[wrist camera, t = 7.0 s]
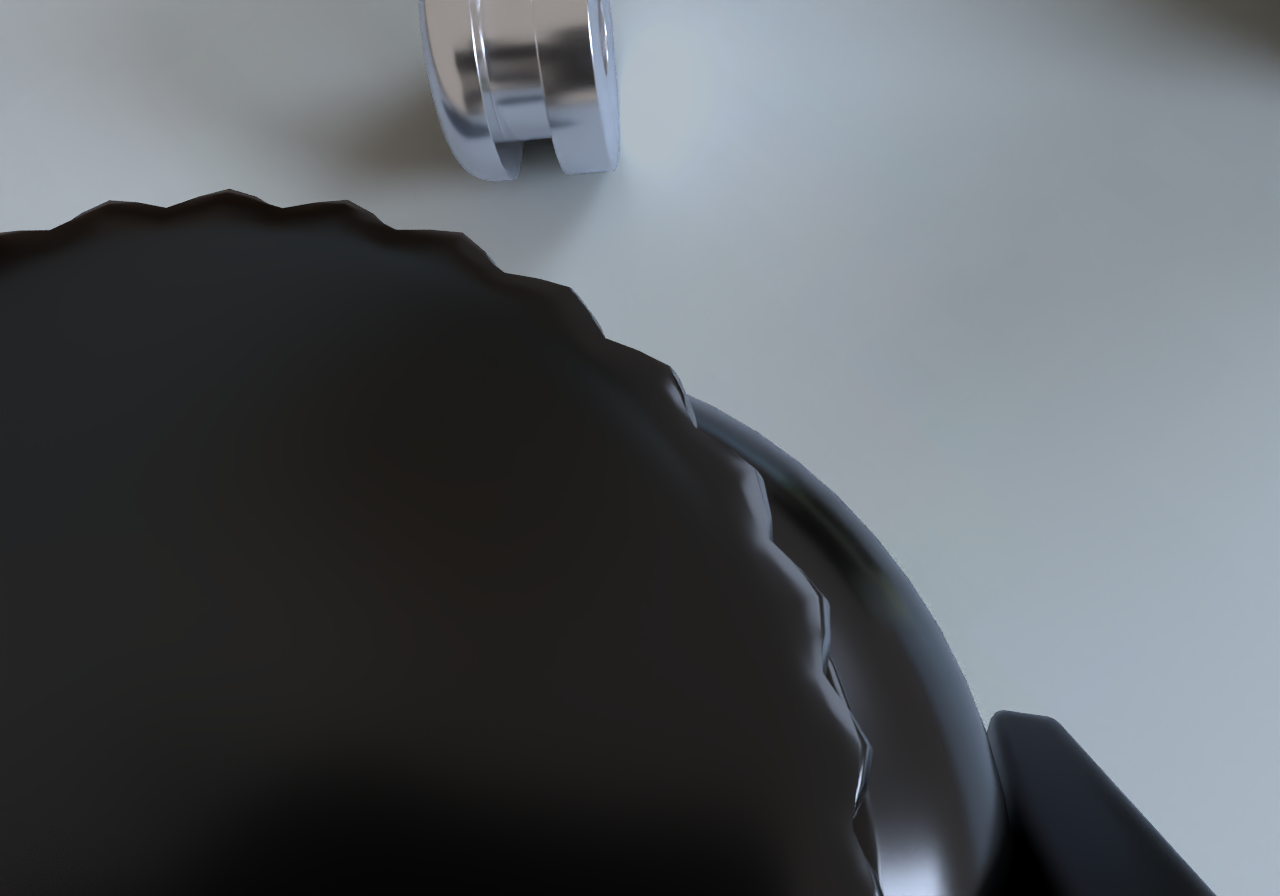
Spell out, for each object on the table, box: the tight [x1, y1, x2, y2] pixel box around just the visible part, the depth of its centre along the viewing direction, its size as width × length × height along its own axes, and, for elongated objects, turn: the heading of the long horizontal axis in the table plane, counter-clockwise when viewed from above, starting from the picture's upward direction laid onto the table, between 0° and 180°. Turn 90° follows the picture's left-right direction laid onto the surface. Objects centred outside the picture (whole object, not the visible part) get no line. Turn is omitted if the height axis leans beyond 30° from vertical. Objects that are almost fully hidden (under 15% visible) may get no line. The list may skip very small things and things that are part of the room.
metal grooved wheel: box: [419, 0, 619, 181], centre depth 23 cm, size 5×3×5 cm, turn 2°
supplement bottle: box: [0, 189, 1019, 896], centre depth 9 cm, size 7×7×12 cm
